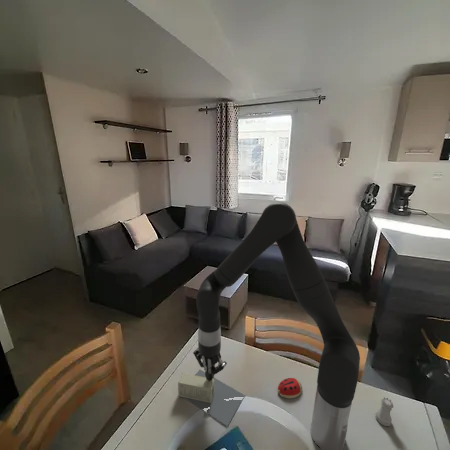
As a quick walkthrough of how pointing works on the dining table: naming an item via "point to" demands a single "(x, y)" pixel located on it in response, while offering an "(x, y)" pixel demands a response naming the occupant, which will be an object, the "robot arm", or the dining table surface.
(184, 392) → the skincare box
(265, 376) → the dining table surface
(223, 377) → the dining table surface
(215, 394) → the mat
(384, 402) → the rook chess piece
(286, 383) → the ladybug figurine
